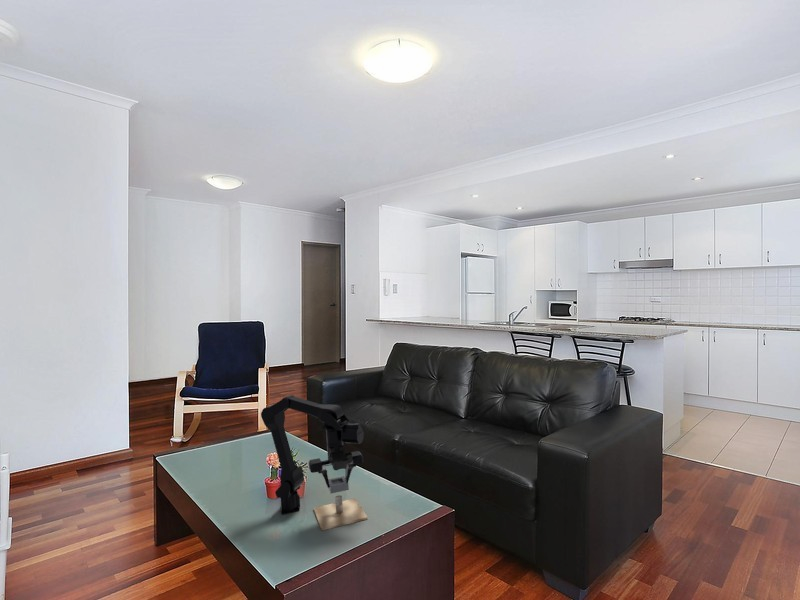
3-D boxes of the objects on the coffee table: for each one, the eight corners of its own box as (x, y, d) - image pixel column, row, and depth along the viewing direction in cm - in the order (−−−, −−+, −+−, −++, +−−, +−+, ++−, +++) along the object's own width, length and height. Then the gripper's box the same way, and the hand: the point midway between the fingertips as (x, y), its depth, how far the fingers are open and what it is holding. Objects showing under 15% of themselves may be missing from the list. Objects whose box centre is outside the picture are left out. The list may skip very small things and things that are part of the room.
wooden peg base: (321, 530, 150) (320, 511, 150) (313, 509, 165) (312, 492, 165) (367, 519, 156) (366, 501, 155) (355, 500, 171) (354, 483, 170)
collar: (330, 493, 156) (330, 486, 156) (327, 486, 162) (326, 479, 162) (348, 489, 158) (348, 482, 158) (344, 483, 164) (344, 476, 164)
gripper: (312, 453, 149) (315, 500, 149) (366, 444, 156) (369, 488, 156) (307, 443, 160) (309, 487, 160) (358, 435, 166) (360, 477, 166)
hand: (337, 485), depth 160 cm, fingers closed on collar, 6 cm apart
